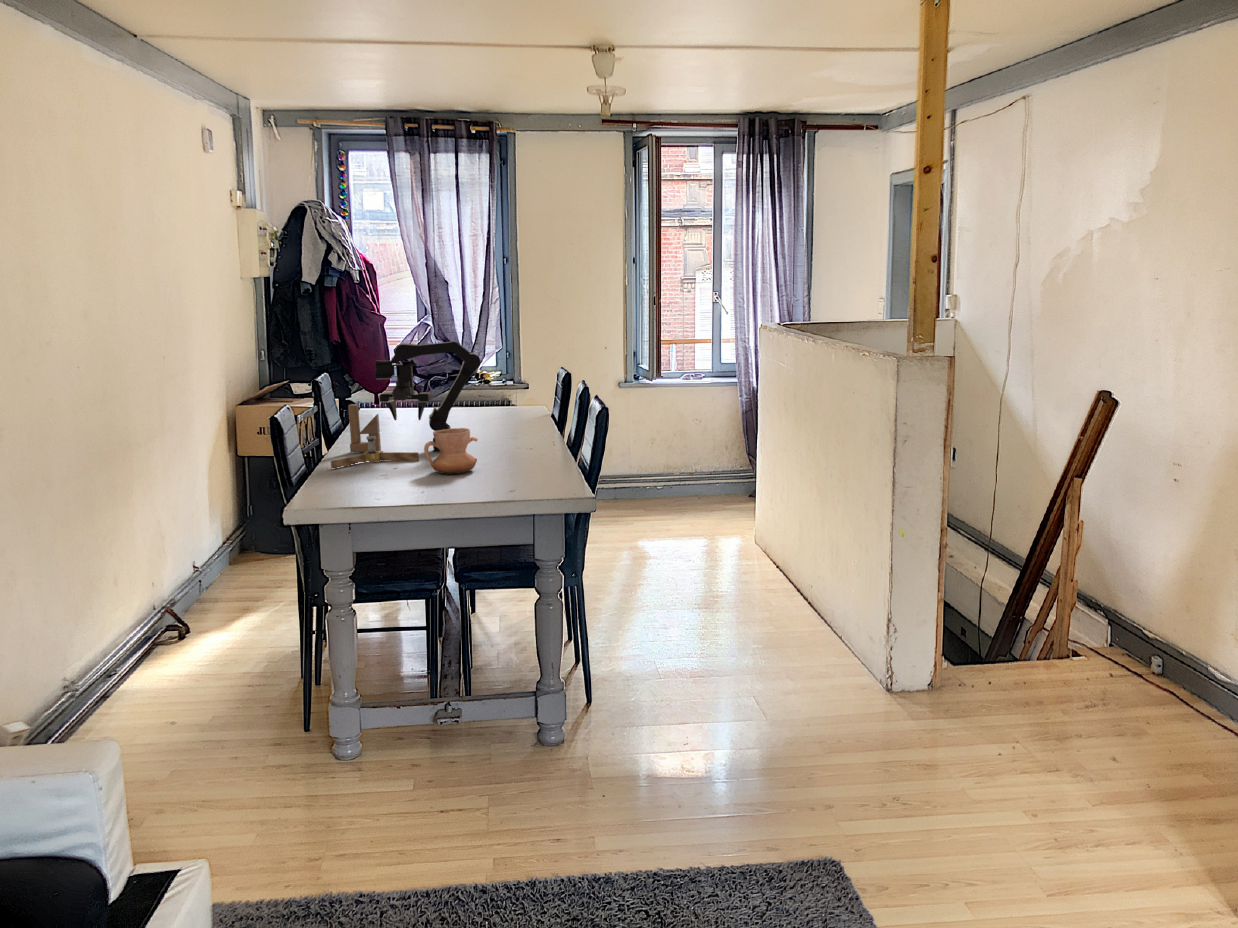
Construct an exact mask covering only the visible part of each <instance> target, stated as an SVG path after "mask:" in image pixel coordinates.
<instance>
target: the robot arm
mask: <svg viewBox="0 0 1238 928" xmlns="http://www.w3.org/2000/svg"><path fill="white" fill-rule="evenodd" d="M445 353H446V354H447V353H454V354H455V355H456V356H457V357H458V358H460V359H461V360H462V364H461V367H460V370H459V372H458V375H457V376H456V378H455V380H454V382H453V383H452V385H451V387H450V389H449V390H448V392H447V394H446V395H445V397H444V399H443V401H442V402H441V404H440V405H439V406H438V407H437V408H436V407H435V406H433V409H432V412H431V414H429V415H428V418H429V419H428V424H429V427H430V429H431V430H433V431H438V430H444V429H445V430H446V429H451V425H449V424H448V423H447V420H448V417H449V414H450V412H451V410H452V408H453V406H454V403H455V402H456V401H457V399H458V397H459V395H460V394H461V392H462V391H463V388H464V387H465V385H466V383H467V382H468V380H469V379H470V377H472V375H473V374H474V373H475V372H476V371H477V370H478V368H479V367H480V365H481V359H480V356H478V354H477V353H475V352H470V351H468V350H467V348H464V347H463V346H462V345H461V344H459V342H458V341H456V340H451V341H445V342H443V341H442V342H435V343H434V342H433V343H424V344H416V343H403V342H402V343H399V344H397V346H396V347H395V349H394V355H393V357H391V360H380V359H379V360H376V361H375V379H376V380H390V379H392V378H393V377H394V376H396V381H395V387H394V389H393V390H392V391H391V392H383V393H380V394H379V397H378V399H379V402H380V403H382V402H383V403H382V404H384V405H386V406H387V407H388V409H389V411H390V412H391V415H392V418H393V419H394V421H397V418H398V416H397V401H401V402H403V401H407V400H418V402H416V404H417V407H418V408H417V418H418V421H421V419H422V416H423V413H424V410H425V407H426V405H427V404H428V403H430V402H431V401H433V400H434V397H433V393H432V392H431V391H427V392H425V391H423V392H419V393H418V394H415V391H416V390H414V383H415V380H414V378H413V366H415V367H416V366H418V364H417V362H416V361H415V360H414V359H413V358H416V357H420V356H425V355H434V354H445ZM400 362H401V363H400ZM395 368H396V369H395ZM395 373H396V375H395ZM432 441H434V442H435V439H434V437H432ZM432 447H433V448H432V449H433V450H432V451H433V452H440V450H439V449H438V448H437V447H435V446H432Z"/></svg>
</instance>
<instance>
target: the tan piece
mask: <svg viewBox="0 0 1238 928" xmlns="http://www.w3.org/2000/svg"><path fill="white" fill-rule="evenodd" d="M375 452H376V454H369V452H368V451H366V452H364V453H360V454H357V455H352V456H349V457H348V456H347V457H342V458H337V459H333V460H330V468H337V467H341V466H348V465H351V464H355V463H358V462H366V461H369V462H378V461H380V460H391V461H390V462H419V461H420V455H419V454H420V453H419V452H417V451H416V452H415V451H414V452H409V451H407V452H401V451H399V452H398V451H397V452H394V451H393V452H392V451H391V452H390V451H389V452H386V451H383V450H381V451H375ZM380 462H381V461H380ZM378 463H379V462H378ZM348 467H349V466H348Z"/></svg>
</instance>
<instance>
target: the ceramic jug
mask: <svg viewBox="0 0 1238 928" xmlns="http://www.w3.org/2000/svg"><path fill="white" fill-rule="evenodd" d="M432 435H433V438H434V439H435V442H434V441H433V440H432V441H431V440H430V441H428V442H426V443H425V445H424V447H423V448H424V449H423V453H424V455H425V458H426V459H427V460H428V461H429V464H430V467H431V468H432V469H433V470H434V471H435V472H438V473H441V474H444V475H445V474H446V475H459V473H460V474H464V472H465V473H467V472H469V471H471V470H473V469H474V468H475V466H476V465H477V464H476V463H477V462H478V458H477V457H474V456H473V455H472V454H470V453H468V452H467V451H466V450H467V447H468V445H469V444H470V443H471V442H478V440H479V438H478V437H477V436H471V430H470V428H467V427H459V428H458V427H453V428H451V429H446V430H445V429H444V430H438V431H434V430H433V432H432ZM431 446H432V447H433V446H435V447H437V448H438V449H439V450H440V451H439V452H440V453H439V455H438V456H437V457H435V458H434V459H432V457H431V455H430V453H429V448H430V447H431Z"/></svg>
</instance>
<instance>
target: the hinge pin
mask: <svg viewBox="0 0 1238 928" xmlns="http://www.w3.org/2000/svg"><path fill="white" fill-rule="evenodd" d="M365 438H366V439H365V440H366V441H367V442H368V452H369V454H376V452H375V439H376V436H369V435H367V436H366V437H365Z"/></svg>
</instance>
